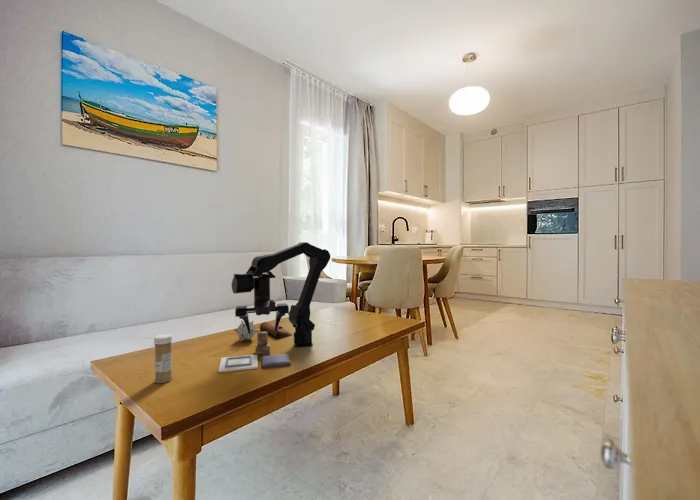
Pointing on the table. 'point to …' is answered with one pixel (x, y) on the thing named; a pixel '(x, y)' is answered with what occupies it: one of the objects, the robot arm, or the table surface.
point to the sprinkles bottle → (163, 358)
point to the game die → (245, 331)
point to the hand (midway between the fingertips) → (262, 332)
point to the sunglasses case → (271, 329)
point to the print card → (238, 363)
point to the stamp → (262, 344)
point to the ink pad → (275, 361)
